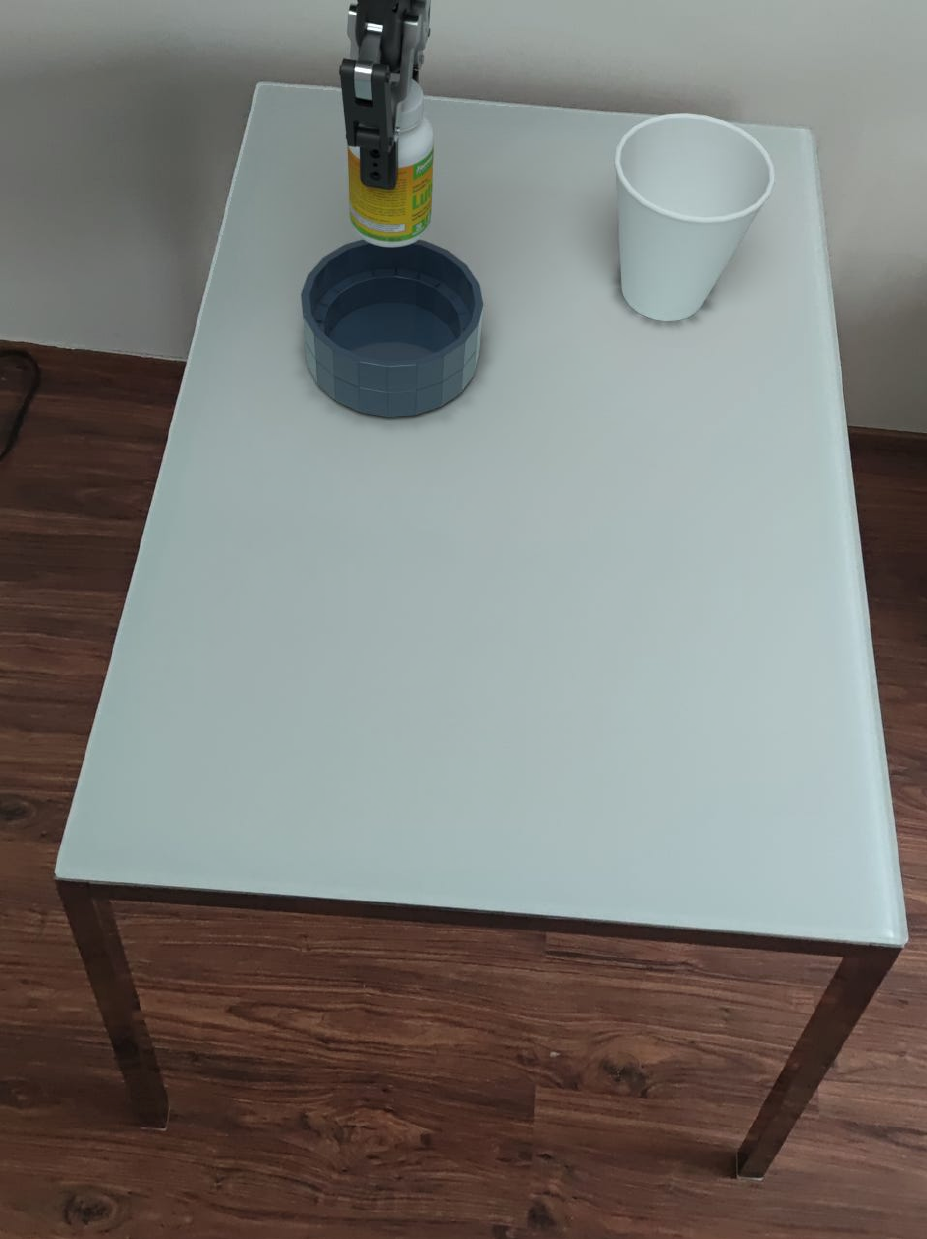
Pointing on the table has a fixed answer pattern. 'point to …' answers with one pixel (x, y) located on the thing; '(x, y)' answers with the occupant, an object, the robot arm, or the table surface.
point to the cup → (684, 208)
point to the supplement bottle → (409, 203)
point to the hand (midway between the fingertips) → (389, 152)
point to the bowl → (392, 326)
